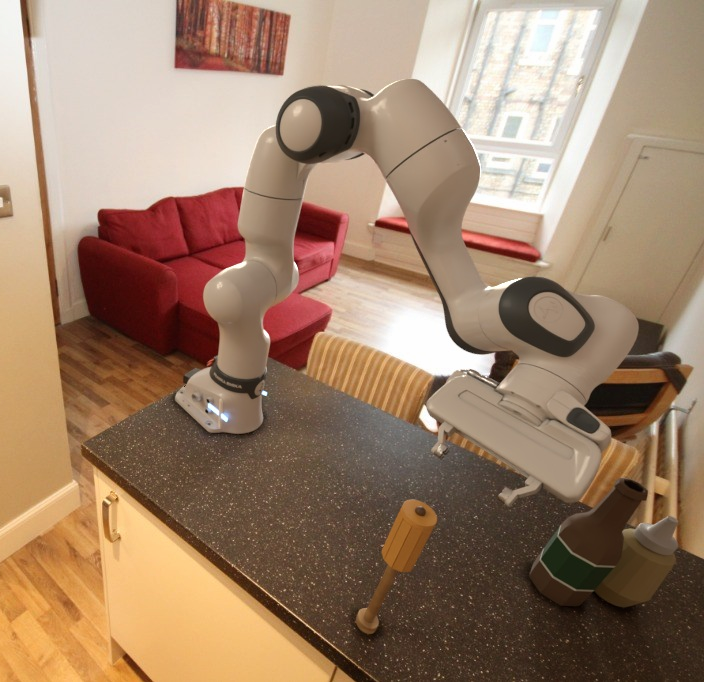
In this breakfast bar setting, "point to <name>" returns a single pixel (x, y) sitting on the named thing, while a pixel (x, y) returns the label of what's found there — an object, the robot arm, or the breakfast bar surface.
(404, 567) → the cylinder
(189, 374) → the robot arm
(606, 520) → the beer bottle
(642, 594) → the squeeze bottle
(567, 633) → the breakfast bar surface
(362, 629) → the brown wooden rod
